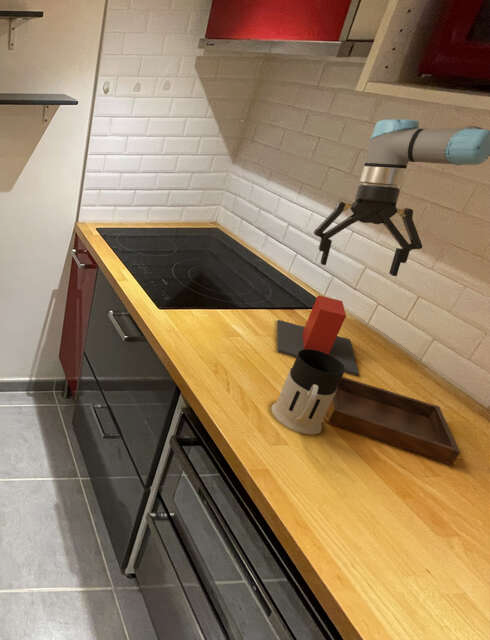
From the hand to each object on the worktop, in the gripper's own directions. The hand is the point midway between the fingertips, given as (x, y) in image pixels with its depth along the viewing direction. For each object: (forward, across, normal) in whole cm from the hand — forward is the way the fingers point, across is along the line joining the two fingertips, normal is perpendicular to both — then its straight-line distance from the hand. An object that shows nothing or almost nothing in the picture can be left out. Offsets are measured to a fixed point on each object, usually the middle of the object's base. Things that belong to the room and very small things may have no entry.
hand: (356, 269), depth 112 cm
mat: (+21, +5, +4) cm, 22 cm away
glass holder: (+28, +11, +38) cm, 49 cm away
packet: (+20, +5, +5) cm, 22 cm away
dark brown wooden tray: (+26, -4, +27) cm, 38 cm away
